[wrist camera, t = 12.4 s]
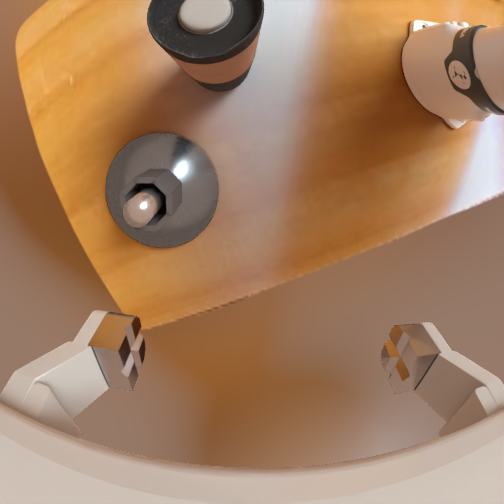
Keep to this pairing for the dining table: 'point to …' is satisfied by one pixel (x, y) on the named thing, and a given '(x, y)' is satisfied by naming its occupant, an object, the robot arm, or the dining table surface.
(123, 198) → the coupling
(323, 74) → the dining table surface
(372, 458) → the robot arm
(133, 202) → the grey metal round base
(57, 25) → the dining table surface
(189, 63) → the travel mug
